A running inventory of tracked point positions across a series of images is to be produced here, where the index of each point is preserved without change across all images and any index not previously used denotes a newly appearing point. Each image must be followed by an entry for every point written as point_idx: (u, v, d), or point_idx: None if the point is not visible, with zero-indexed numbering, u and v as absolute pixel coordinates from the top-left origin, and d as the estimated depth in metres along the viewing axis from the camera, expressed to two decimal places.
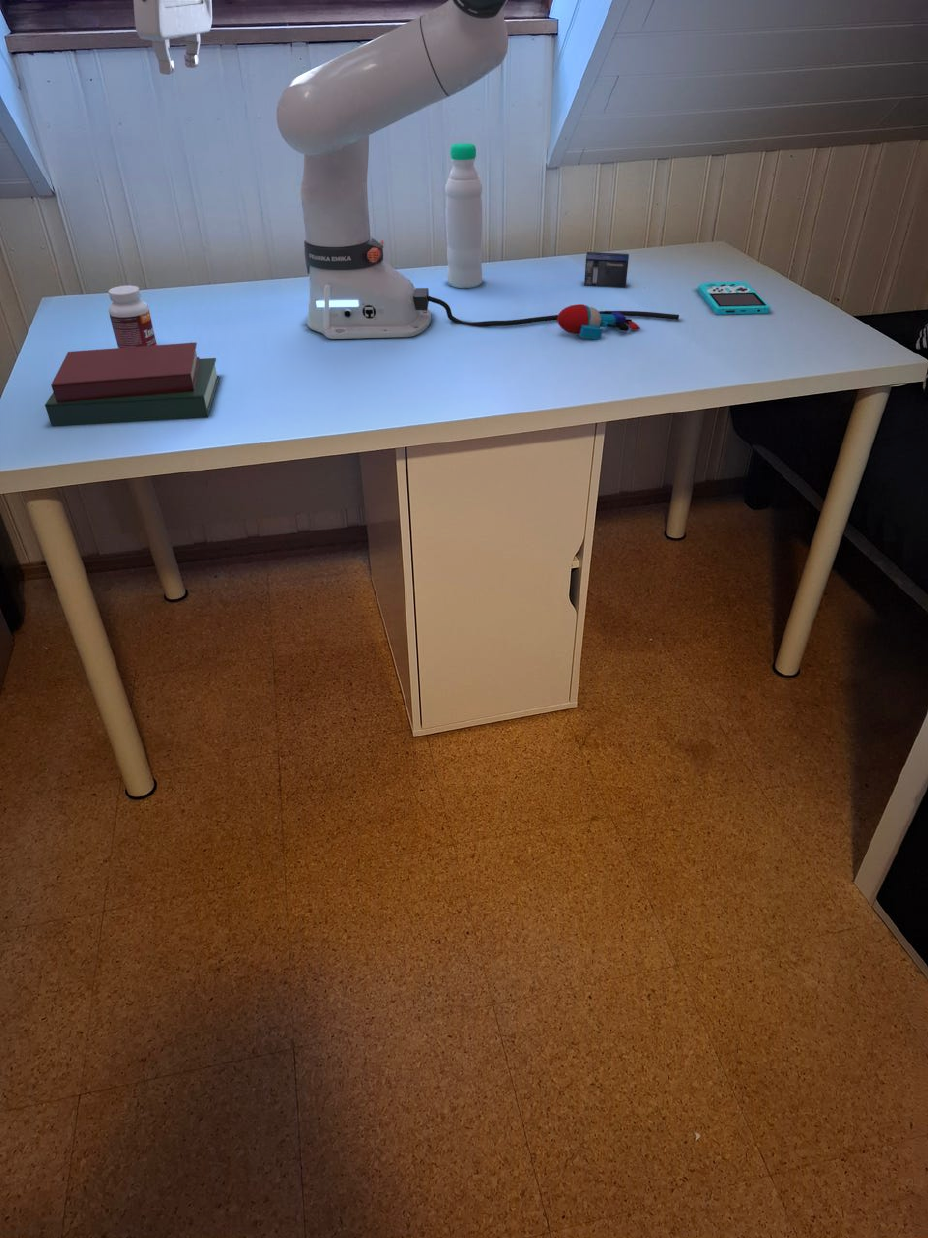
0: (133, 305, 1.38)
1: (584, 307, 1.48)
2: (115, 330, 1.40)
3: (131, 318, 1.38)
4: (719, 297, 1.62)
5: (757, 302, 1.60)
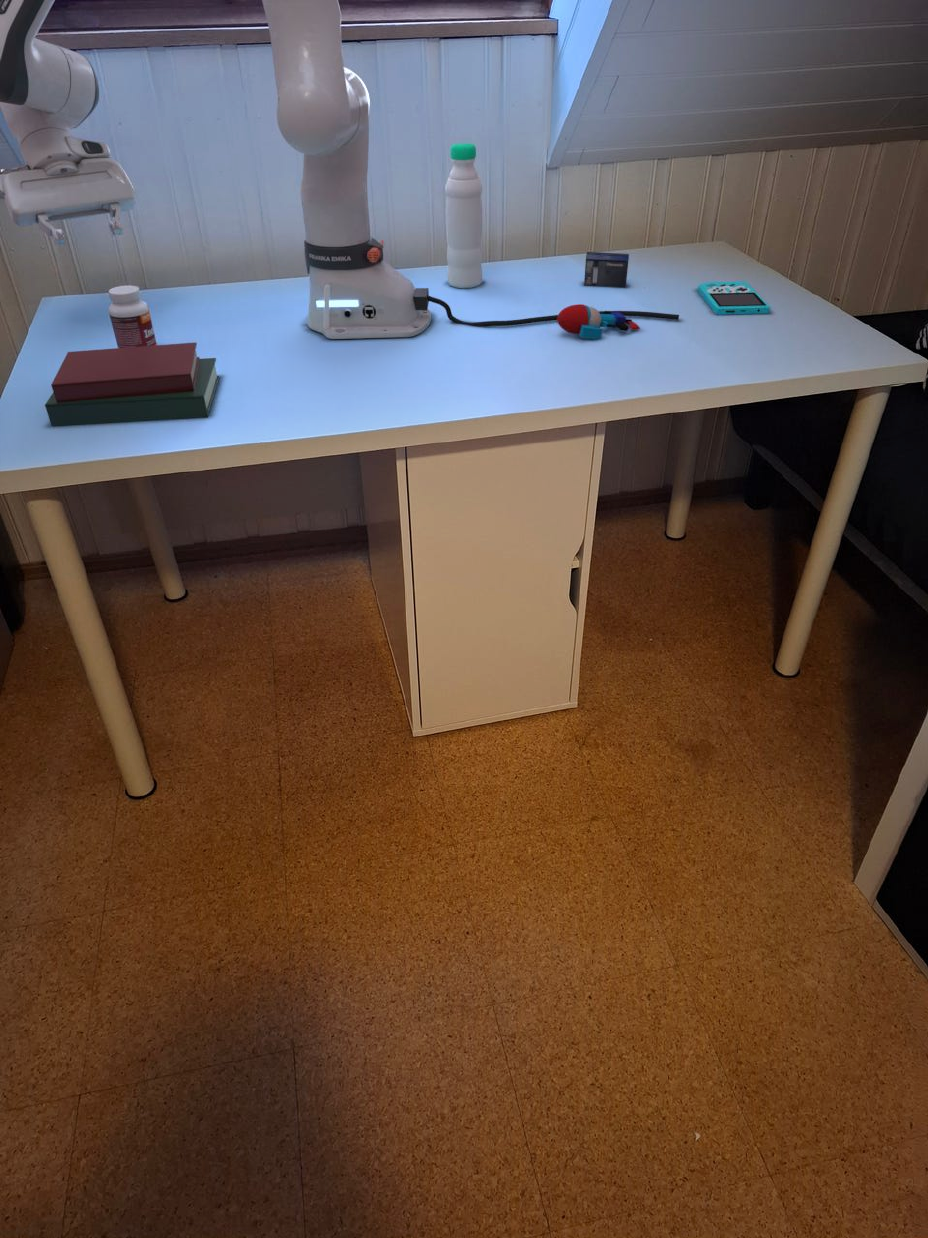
0: (133, 305, 1.38)
1: (584, 307, 1.48)
2: (115, 330, 1.40)
3: (131, 318, 1.38)
4: (719, 297, 1.62)
5: (757, 302, 1.60)
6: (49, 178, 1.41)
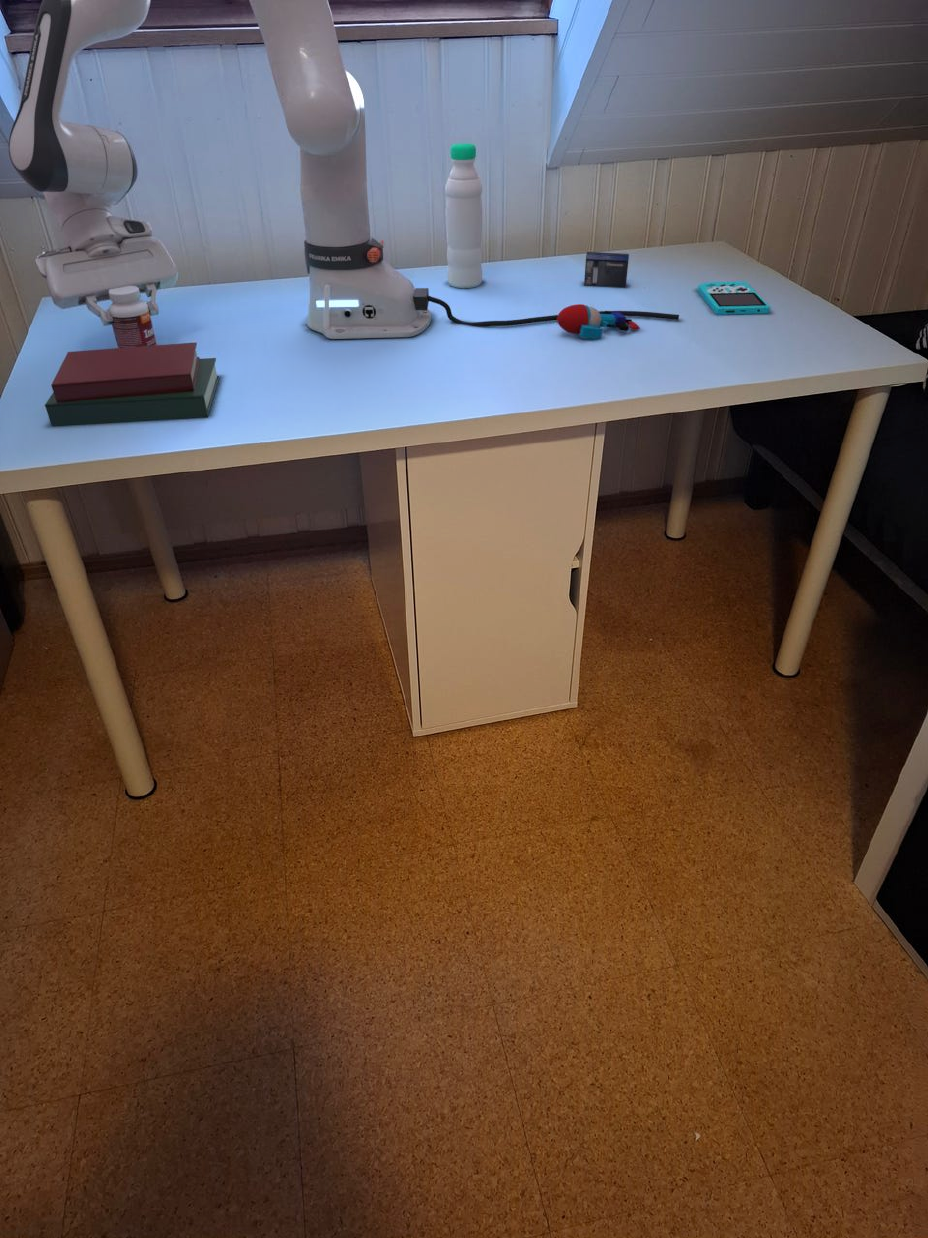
0: (133, 305, 1.38)
1: (584, 307, 1.48)
2: (115, 330, 1.40)
3: (131, 318, 1.38)
4: (719, 297, 1.62)
5: (757, 302, 1.60)
6: (91, 259, 1.38)
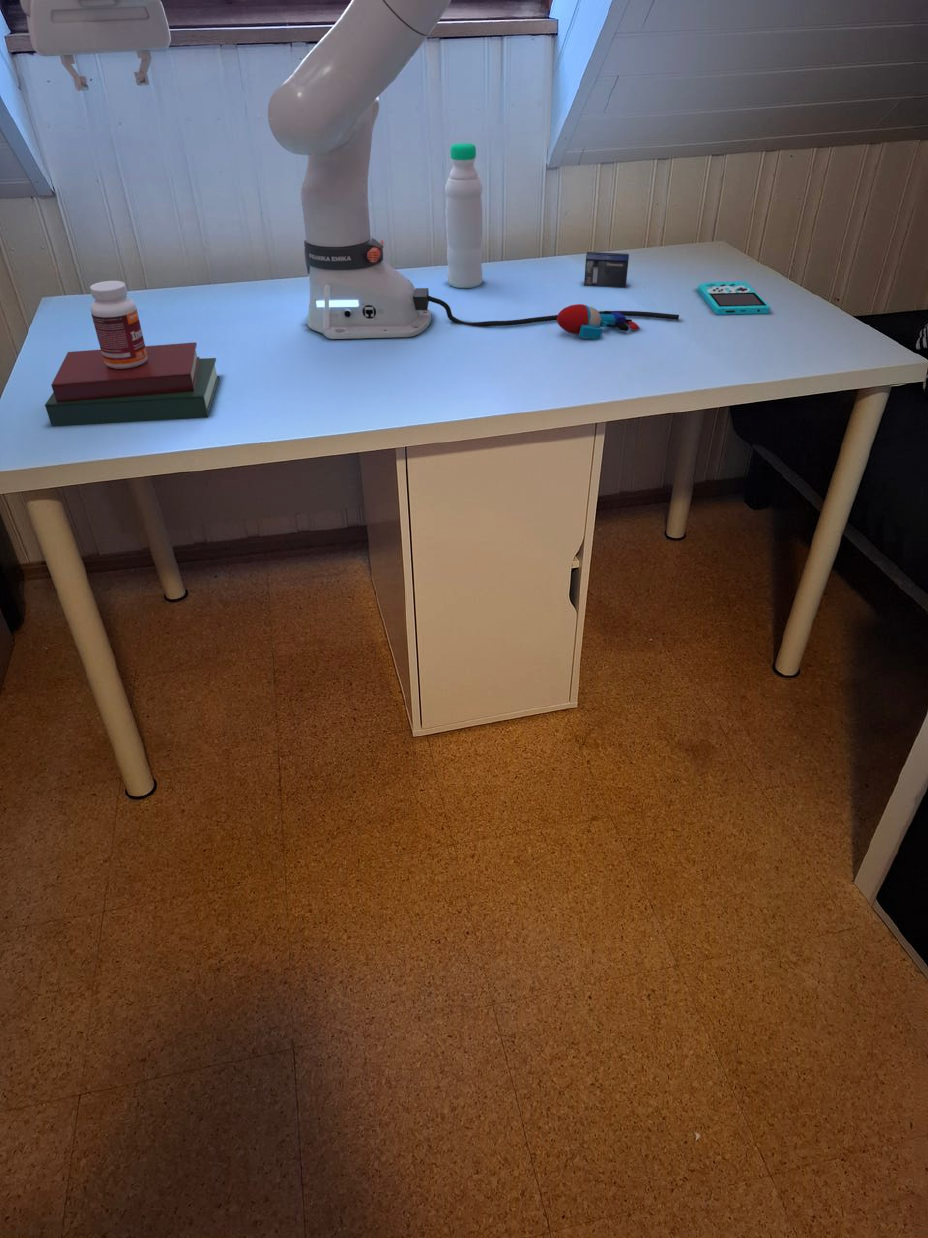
0: (118, 303, 1.21)
1: (584, 307, 1.48)
2: (98, 332, 1.22)
3: (116, 318, 1.21)
4: (719, 297, 1.62)
5: (757, 302, 1.60)
6: (82, 8, 1.26)
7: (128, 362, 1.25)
